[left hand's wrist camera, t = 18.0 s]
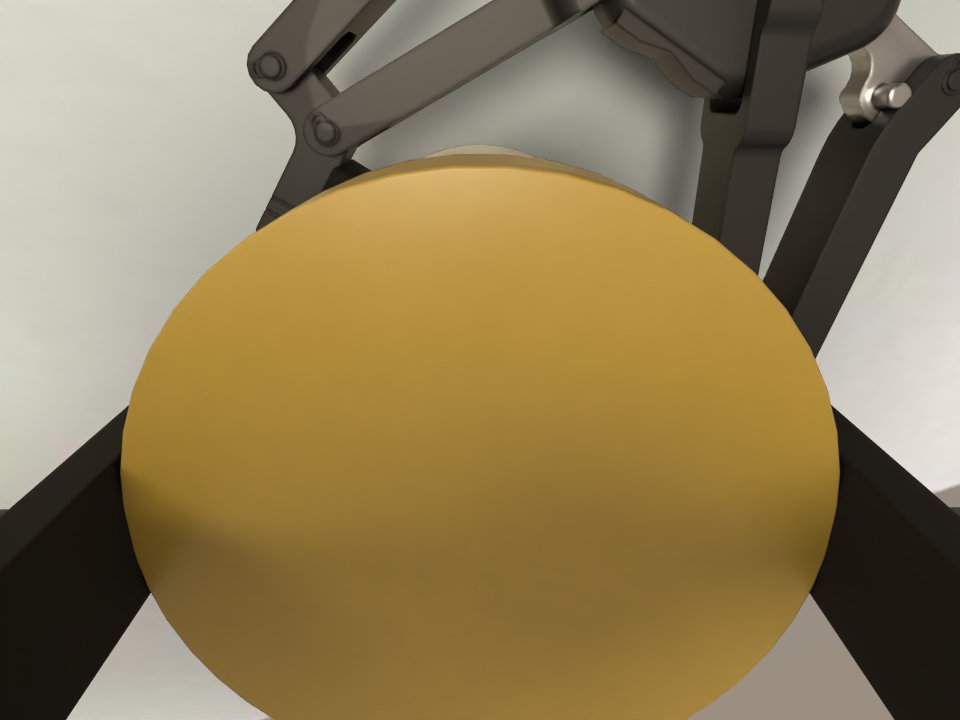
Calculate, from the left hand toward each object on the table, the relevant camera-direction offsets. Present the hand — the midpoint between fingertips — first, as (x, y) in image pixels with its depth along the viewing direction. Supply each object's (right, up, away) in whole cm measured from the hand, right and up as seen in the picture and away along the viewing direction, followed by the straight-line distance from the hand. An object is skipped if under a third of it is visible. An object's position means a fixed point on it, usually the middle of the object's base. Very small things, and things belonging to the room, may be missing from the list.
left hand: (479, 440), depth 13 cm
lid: (0, -1, -3) cm, 3 cm away
